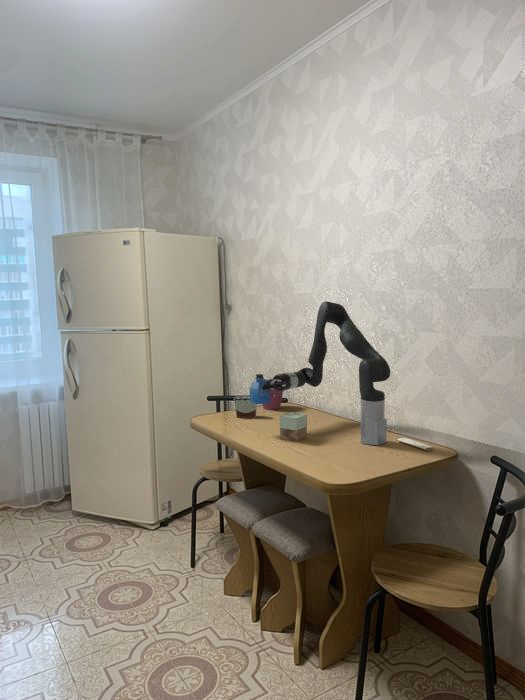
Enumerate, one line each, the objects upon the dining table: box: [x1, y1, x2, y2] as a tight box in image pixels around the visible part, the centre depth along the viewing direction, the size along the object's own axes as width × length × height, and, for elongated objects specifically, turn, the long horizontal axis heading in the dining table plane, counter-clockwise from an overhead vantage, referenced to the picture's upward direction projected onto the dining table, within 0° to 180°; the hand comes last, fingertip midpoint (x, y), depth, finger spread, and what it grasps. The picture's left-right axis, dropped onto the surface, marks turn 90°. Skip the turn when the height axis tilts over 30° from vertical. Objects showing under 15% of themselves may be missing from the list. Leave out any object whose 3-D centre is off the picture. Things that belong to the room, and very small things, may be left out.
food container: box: [233, 394, 258, 419], centre depth 252 cm, size 12×6×10 cm, turn 84°
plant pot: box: [261, 389, 286, 411], centre depth 269 cm, size 14×14×13 cm
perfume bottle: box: [249, 373, 271, 405], centre depth 219 cm, size 6×6×12 cm
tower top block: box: [279, 411, 308, 430], centre depth 211 cm, size 8×8×5 cm
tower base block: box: [279, 426, 308, 443], centre depth 211 cm, size 8×8×5 cm
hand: (257, 386), depth 218 cm, fingers closed on perfume bottle, 6 cm apart
